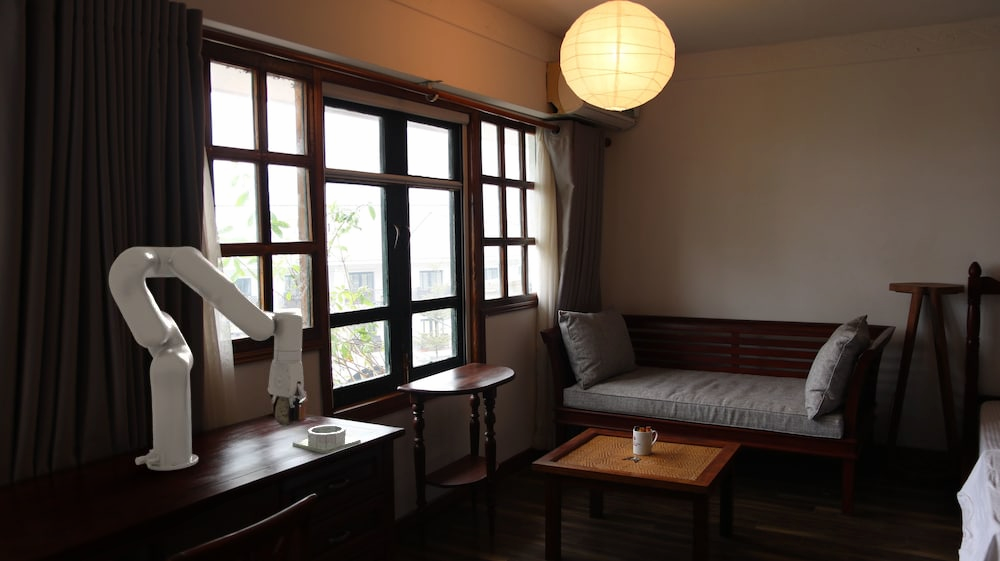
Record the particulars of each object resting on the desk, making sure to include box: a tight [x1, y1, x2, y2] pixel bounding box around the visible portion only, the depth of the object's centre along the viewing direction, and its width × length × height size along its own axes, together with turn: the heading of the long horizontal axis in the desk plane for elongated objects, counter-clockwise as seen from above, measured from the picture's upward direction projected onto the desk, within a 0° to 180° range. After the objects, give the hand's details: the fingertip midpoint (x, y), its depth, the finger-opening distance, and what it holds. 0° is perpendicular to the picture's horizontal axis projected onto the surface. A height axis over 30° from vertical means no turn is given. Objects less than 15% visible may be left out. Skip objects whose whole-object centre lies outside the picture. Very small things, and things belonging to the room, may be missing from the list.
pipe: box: [271, 390, 309, 421], centre depth 248 cm, size 5×18×10 cm, turn 51°
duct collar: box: [292, 424, 362, 454], centre depth 214 cm, size 14×14×4 cm
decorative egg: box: [275, 397, 295, 427], centre depth 203 cm, size 6×6×10 cm
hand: (285, 418), depth 203 cm, fingers closed on decorative egg, 6 cm apart
